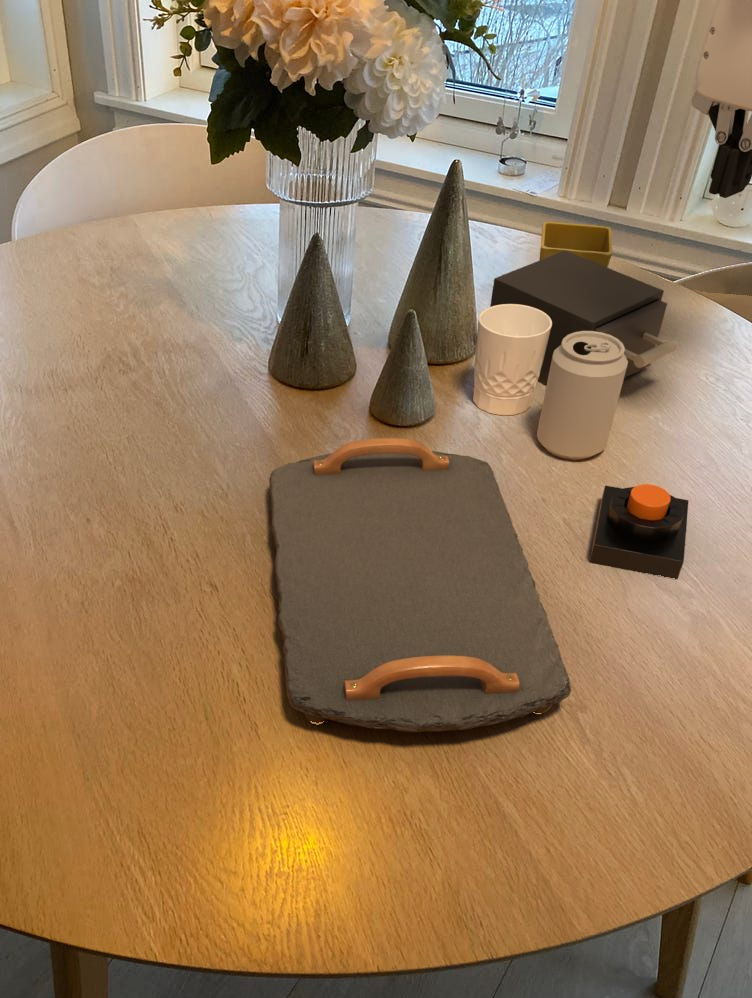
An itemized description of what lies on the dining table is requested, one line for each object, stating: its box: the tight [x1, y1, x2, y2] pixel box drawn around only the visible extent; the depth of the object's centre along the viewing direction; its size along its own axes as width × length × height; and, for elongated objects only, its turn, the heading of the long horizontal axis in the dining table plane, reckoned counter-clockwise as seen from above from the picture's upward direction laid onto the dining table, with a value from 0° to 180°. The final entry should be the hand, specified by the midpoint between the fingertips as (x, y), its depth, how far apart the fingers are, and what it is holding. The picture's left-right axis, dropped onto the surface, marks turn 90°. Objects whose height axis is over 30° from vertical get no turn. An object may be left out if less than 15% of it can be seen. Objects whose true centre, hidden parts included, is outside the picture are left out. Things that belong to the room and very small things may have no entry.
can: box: [536, 331, 628, 461], centre depth 104 cm, size 8×8×12 cm
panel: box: [589, 485, 689, 580], centre depth 95 cm, size 10×8×4 cm
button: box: [627, 483, 671, 520], centre depth 93 cm, size 4×4×2 cm
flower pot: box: [538, 221, 613, 268], centre depth 130 cm, size 9×9×9 cm
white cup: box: [472, 304, 552, 416], centre depth 112 cm, size 8×8×10 cm
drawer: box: [595, 300, 678, 379], centre depth 116 cm, size 18×11×8 cm, turn 38°
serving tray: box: [268, 437, 572, 733], centre depth 89 cm, size 39×23×6 cm, turn 3°
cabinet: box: [489, 251, 665, 386], centre depth 119 cm, size 15×13×10 cm
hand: (726, 191), depth 89 cm, fingers closed
